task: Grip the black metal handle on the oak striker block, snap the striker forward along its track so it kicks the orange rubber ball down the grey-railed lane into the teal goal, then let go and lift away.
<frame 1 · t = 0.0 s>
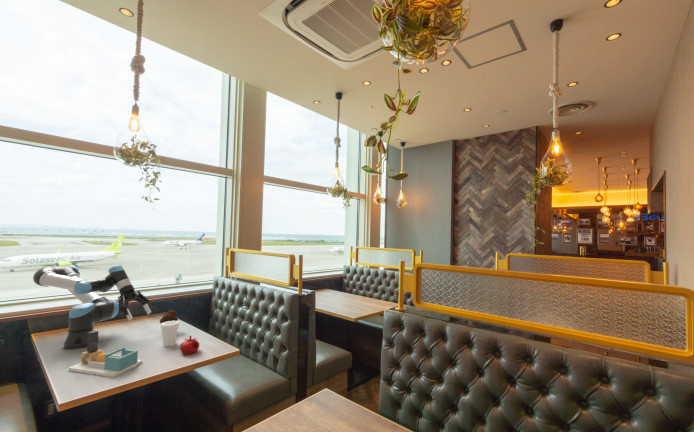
hand: (140, 316, 193), 15 cm above the table, tool tilted 35°, fingers open, 13 cm apart
striker: (92, 346, 159), point 9 cm above the table, slide at 0.0 cm
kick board: (107, 366, 157), on the table
pomegranate: (189, 352, 177), on the table
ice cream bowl: (168, 333, 208), on the table
goal: (120, 368, 155), resting on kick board
ball: (102, 358, 158), point 4 cm above the table, touching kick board
foam cup: (169, 344, 188), on the table
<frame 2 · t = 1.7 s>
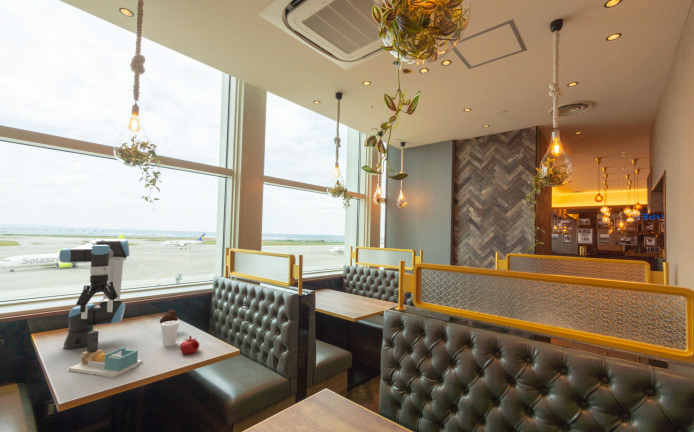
hand: (97, 315, 161), 25 cm above the table, tool pointing down, fingers open, 13 cm apart
nothing on the table moved.
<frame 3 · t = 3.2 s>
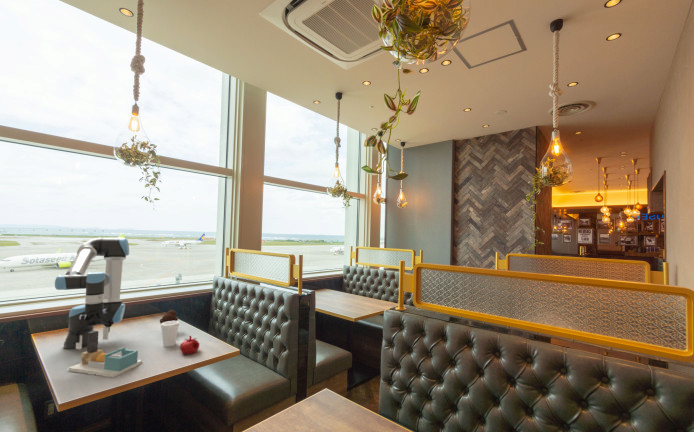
hand: (92, 344, 159), 11 cm above the table, tool pointing down, fingers open, 13 cm apart
nothing on the table moved.
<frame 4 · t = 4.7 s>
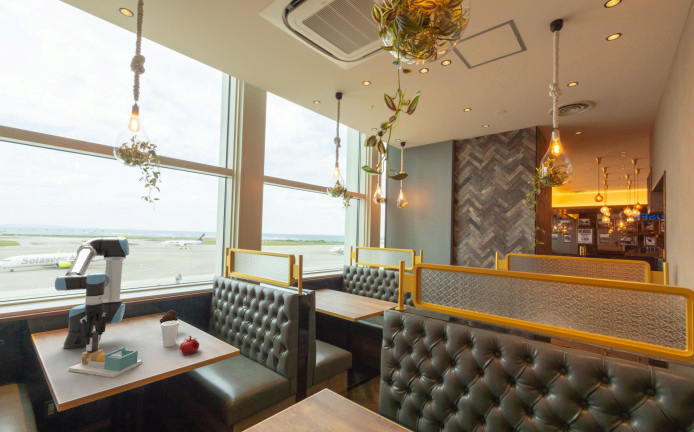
hand: (92, 348, 159), 8 cm above the table, tool pointing down, fingers closed on striker, 3 cm apart
striker: (92, 346, 159), point 9 cm above the table, slide at 0.1 cm, touching gripper
everything else where it was.
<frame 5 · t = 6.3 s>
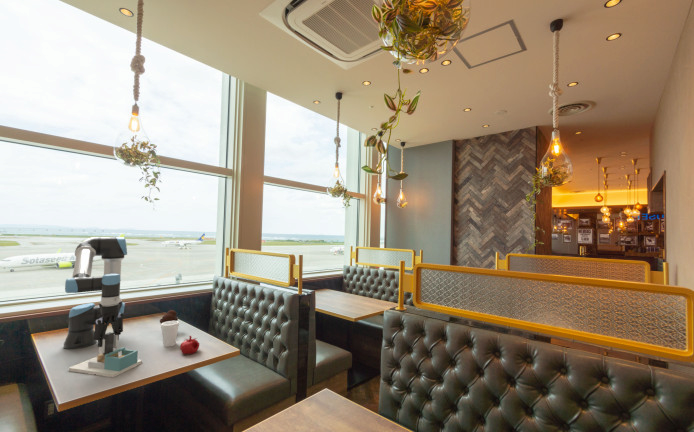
hand: (108, 350, 157), 8 cm above the table, tool pointing down, fingers open, 6 cm apart
striker: (108, 348, 157), point 9 cm above the table, slide at 10.0 cm
ball: (122, 360, 155), point 4 cm above the table, tilted 107°, touching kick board
everything else where it was.
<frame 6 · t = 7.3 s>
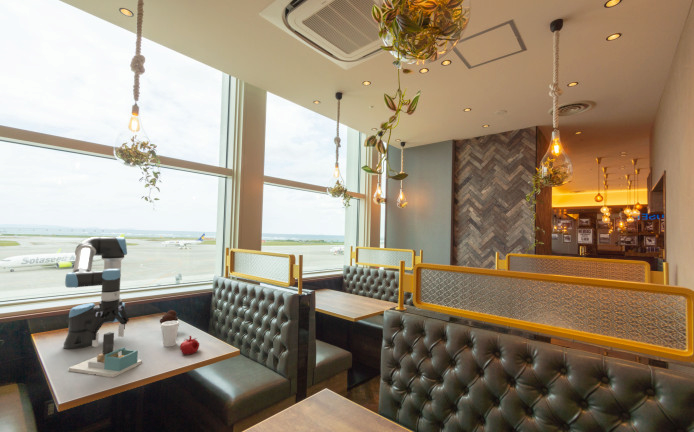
hand: (108, 341, 158), 13 cm above the table, tool pointing down, fingers open, 13 cm apart
ball: (121, 360, 155), point 4 cm above the table, tilted 117°, touching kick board
everything else where it was.
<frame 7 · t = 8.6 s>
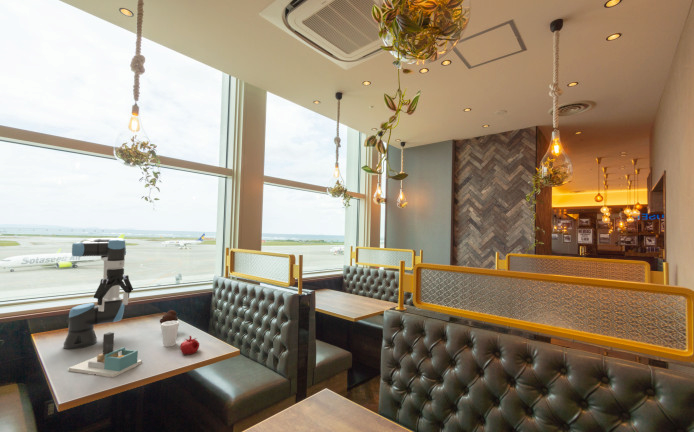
hand: (113, 307, 166), 28 cm above the table, tool pointing down, fingers open, 13 cm apart
ball: (120, 360, 155), point 4 cm above the table, tilted 129°, touching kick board
everything else where it was.
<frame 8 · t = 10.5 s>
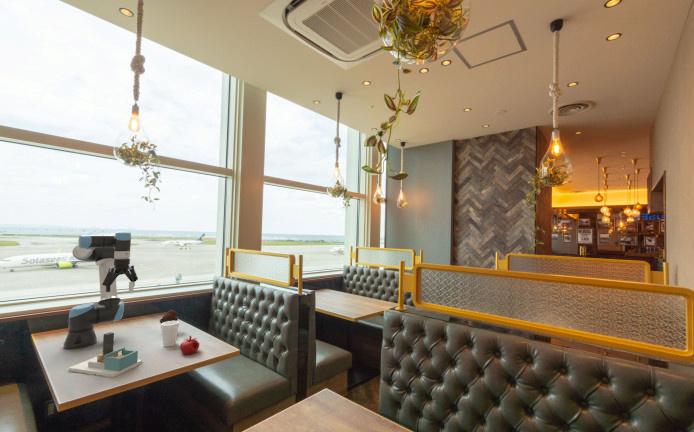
hand: (120, 295, 179), 32 cm above the table, tool pointing down, fingers open, 13 cm apart
ball: (119, 360, 156), point 4 cm above the table, tilted 147°, touching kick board
everything else where it was.
at the end: ball inside the target area on the goal (1.6 cm from its centre), point 4.0 cm above the goal's base; striker slide at 10.0 cm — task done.
